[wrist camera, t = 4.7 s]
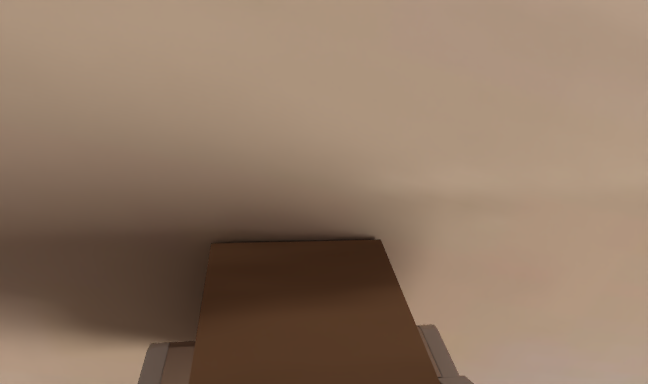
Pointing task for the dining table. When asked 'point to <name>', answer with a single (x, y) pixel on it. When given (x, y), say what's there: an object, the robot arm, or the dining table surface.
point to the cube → (306, 317)
